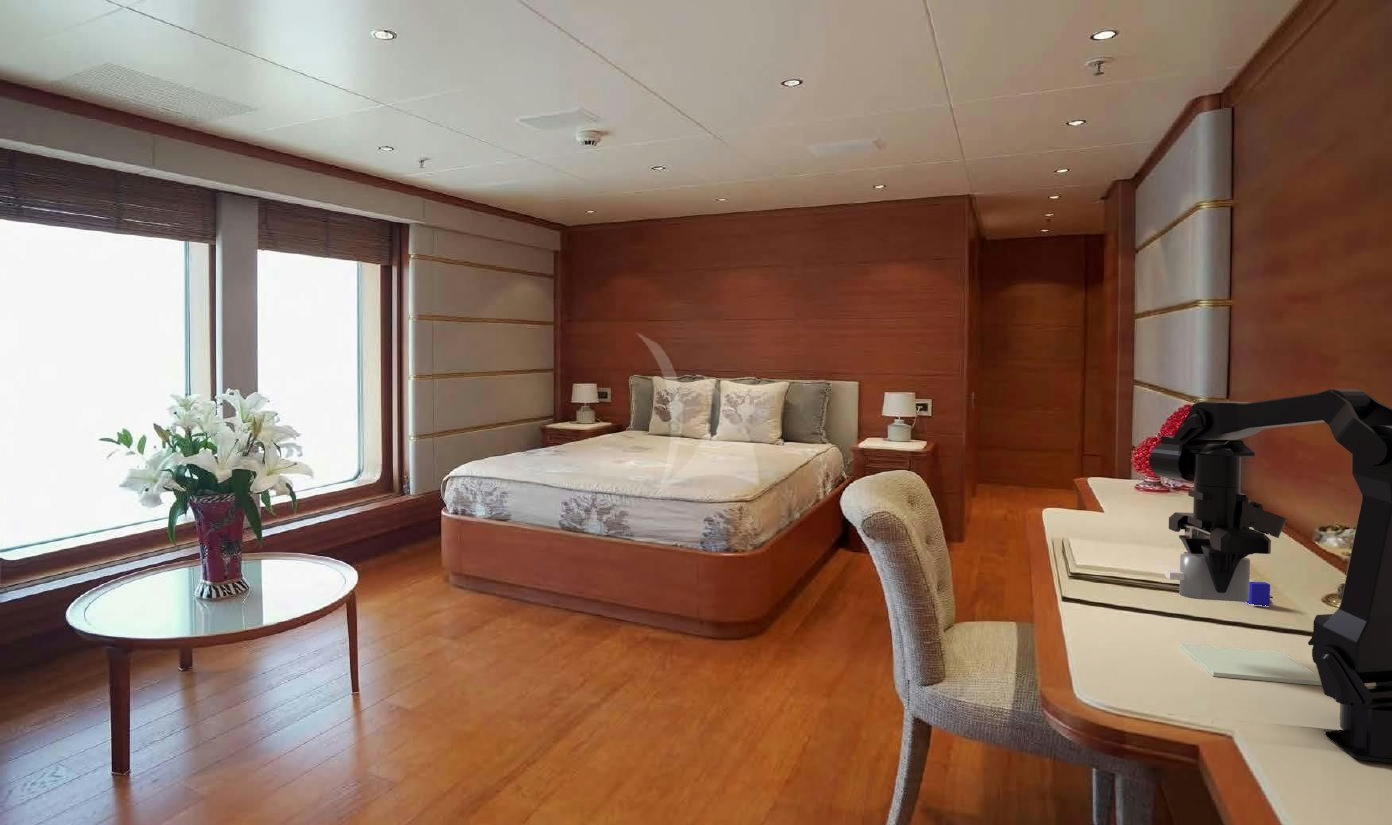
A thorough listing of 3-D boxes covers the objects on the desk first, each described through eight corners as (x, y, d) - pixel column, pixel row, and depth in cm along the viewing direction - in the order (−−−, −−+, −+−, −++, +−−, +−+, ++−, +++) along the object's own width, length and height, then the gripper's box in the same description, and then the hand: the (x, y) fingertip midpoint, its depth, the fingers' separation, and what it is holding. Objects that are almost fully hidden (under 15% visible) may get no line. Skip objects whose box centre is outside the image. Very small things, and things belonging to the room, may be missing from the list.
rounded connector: (1254, 602, 110) (1255, 561, 110) (1172, 597, 112) (1173, 557, 112) (1240, 595, 114) (1241, 555, 114) (1162, 590, 116) (1162, 552, 116)
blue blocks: (1206, 597, 149) (1207, 567, 149) (1231, 598, 148) (1232, 568, 148) (1242, 615, 137) (1243, 583, 137) (1269, 617, 136) (1270, 584, 136)
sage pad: (1327, 685, 105) (1327, 681, 105) (1213, 676, 108) (1213, 672, 108) (1281, 655, 116) (1281, 651, 116) (1180, 647, 120) (1180, 643, 120)
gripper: (1316, 495, 102) (1313, 609, 102) (1245, 479, 120) (1243, 576, 120) (1223, 492, 104) (1221, 604, 104) (1168, 477, 122) (1166, 573, 123)
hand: (1214, 588), depth 113 cm, fingers closed on rounded connector, 4 cm apart
